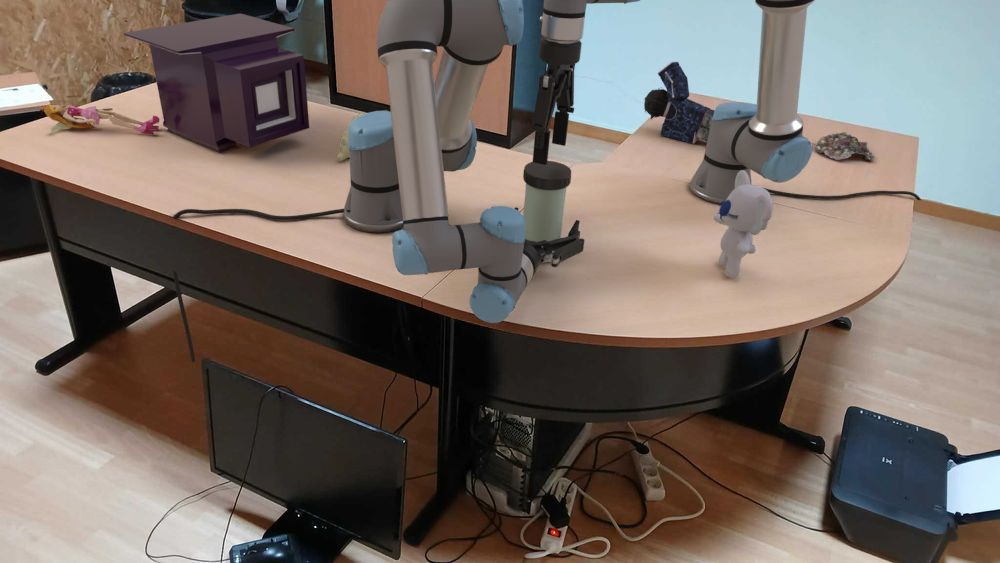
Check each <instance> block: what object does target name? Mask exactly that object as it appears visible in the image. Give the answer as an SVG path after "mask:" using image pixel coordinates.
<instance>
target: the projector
mask: <svg viewBox="0 0 1000 563" xmlns="http://www.w3.org/2000/svg"><path fill="white" fill-rule="evenodd" d="M294 31H295V28H294V27H292V26H287V25H283V24H279V23H276V22H272V21H269V20H264V19H262V18H259V17H256V16H255V17H254V16H252V15H247V14H244V13H235V14H230V15H224V16H217V17H212V18H205V19H200V20H194V21H188V22H181V23H175V24H169V25H163V26H157V27H151V28H146V29H145V28H144V29H139V30H134V31H128V32H123V36H125V37H127V38H130V39H133V40H136V41H138V42H142V43H145V44H148V45H149V50H150V54H151V60H152V66H153V71H154V75H155V76H154V77H155V82H156V87H157V92H158V97H159V102H160V107H161V113H162V118H163V122H162V126H163V127H165V128H166V129H167V131H168V132H170V133H172V134H175V135H177V136H179V137H182V138H184V139H187V140H189V141H191V142H193V143H196V144H197V145H200V146H203V147H205V148H207V149H209V150H212V151H215V152H217V153H219V154H220V153H224V152H227V151H229V150H233V149H235V148H237V144H240V145H242V146H245V147H247V148H249V149H250V148H253V147H256V146H259V145H262V144H266V143H269V142H271V141H275V140H278V139H281V138H285V137H287V136H289V135H293V134H296V133H300V132H302V131H305V130H308V129H310V118H309V105H308V94H307V93H308V92H307V80H306V79H307V78H306V68H305V56H304V54H303V53H302V54H301V53H297V52H296V51H295V52H294V51H291V50H288V49H285V48H282V47H279V44H278V40H277V38H280V37H282V36H286V35H287V34H291V33H292V32H294Z"/></svg>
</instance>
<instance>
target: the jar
mask: <svg viewBox="0 0 1000 563" xmlns="http://www.w3.org/2000/svg"><path fill="white" fill-rule="evenodd" d="M566 194H567V187H566V188H564V189H560V190H542V189H537V188H534V187H531V186H529V185H528V184H526V183H525V192H524V201H523V202H524V203H523V212H522V213H523V214H522V215H523V217H524V220H525V239H527V240H529V241H536V242H539V241H543V240H546V241H547V242H548V241H552V240H556V239H560V238H562V229H563V220H564V213H565V212H564V211H565V203H566V196H567V195H566ZM542 248H543V246H542ZM543 263H549V262H548V261H544V262H542V263H541V264H543Z"/></svg>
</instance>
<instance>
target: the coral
mask: <svg viewBox="0 0 1000 563" xmlns="http://www.w3.org/2000/svg"><path fill="white" fill-rule="evenodd" d="M815 150H816V151H817V152H818V153H824V155H825V156H827V157H828V158H830V159H832V160H835V161H839V160H840V161H841V160H844V159H848V158H851V157H852V155H853V154H854V155H857V154H859V155H860V156H861V158H863V159H865V160H866V161H871V162H874V160H875V159H874V158H875V155H874V154H873V153H872V152H871V151H870V149H869V147H868V142H867V141H859V139H858V137H855V136H853V135H852V134H851V133H849V132H848V131H846V132H844V131H843V132H836V133H830V134H827V135H826V136H822V137H820V138H819V140H818V141H817V142H816V144H815ZM873 157H874V158H873Z"/></svg>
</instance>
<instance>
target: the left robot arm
mask: <svg viewBox="0 0 1000 563" xmlns="http://www.w3.org/2000/svg"><path fill="white" fill-rule="evenodd" d="M524 12H525V11H524V2H523V0H386V3H385V4H384V7H383V10H382V13H381V15H380V19H379V23H378V27H377V32H376V33H377V34H376V50H377V58H378V62H379V64H380V65H381V66H383V67H384V68H385V74H386V81H387V90H388V91H387V92H388V99H389V108H390V111H389V110H375V111H370V112H367V113H365V114H363V115H361V116H359V117H357V118H356V119H354V120H353V121H352V120H351V121H352V122H351V121H350V122H351V124H350V126H349V133H348V147H349V158H348V159H349V177H350V187H349V190H348V194H347V197H346V200H345V204H344V207H343V208H339V209H331V210H326V211H319V212H311V213H305V214H297V215H273V214H270V213H266V212H263V211H258V210H254V209H246V208H219V209H198V208H186V209H185V208H184V209H181V210H179V211H178V212H176V213H175V214H173V216H172V219H175V220H176V219H178V218H179V217H181V216H183V215H186V214H199V215H218V214H247V215H254V216H258V217H261V218H265V219H269V220H275V221H295V220H303V219H304V220H305V219H310V218H318V217H325V216H331V215H338V214H343V219H344V222H345V223H346V224H347V225H348V226H349V227H351V228H353V229H355V230H358V231H360V232H366V233H379V234H380V233H381V234H382V233H389V232H394V233H393V234H392V238H391V239H392V240H391V242H392V256H393V257H392V258H393V261H394V265H395V268H396V270H397V272H398V273H399V274H401V275H403V276H413V275H424V276H425V275H429V274H433V273H434V274H435V273H442V272H443V273H444V272H449V271H457V270H467V269H477V283H476V285H475V286H474V287H473V289H472V292H471V294H470V296H469V307H470V309H471V311H472V313H473V314H474V316H475V317H477V318H478V319H479V320H481V321H483V322H485V323H489V324H498V323H501V322H503V321H504V320H506V319H507V318H508V317H509V315H510V314H511V312H513V311H514V309H515V308H516V305H517V303H518V301H519V300H520V298H521V296H522V294H523V293H524V292H525V290H526V288H527V287H528V285H529V283H530V281H531V280H532V278H533V277H534V276H535V273H537V270H538V268H539V267H540V265H541V264H543V263H542V262H544V261H548V262H547V263H550V266H551V267H552V268H557V267H558V266H559V265H560V264H561V263H562V262H565V261H567V260H568V259H570V258H573V257H574V256H576V255H579V254H580V253H582V252H584V247H585V241H586V239H584V238H583V237H582V238H580V236H581V231H580V230H579V228H580V222H581V221H580V220H578V219H575V221H574V222H573V225H572V226H571V228H570V229H569V232H568V234H567V236H564V237H561V238H560V239H556V240H552V241H548V242H547V241H546V240H543V241H539V242H536V241H529V240H527V239H525V220H524V217H523V214H522V213H521V211H520V210H519V207H516V206H515V207H511V206H508V205H493V206H491V207H490V208H489V207H488V208H485V209H484V210H483V211H482V212H481V215H480V218H479V222H473V223H472V222H471V223H461V224H452V225H451V224H450V219H449V207H448V206H449V205H448V199H447V198H448V197H447V188H446V180H445V179H446V178H445V172H451V173H452V172H453V173H454V172H456V171H461V170H466V169H468V168H469V167H470V166H471V165H472V163H473V162H474V160H475V157H476V153H477V149H476V148H477V145H478V135H477V130H476V129H477V128H476V126H475V123H474V121H473V120H472V119H471V115H472V112H473V109H474V106H475V103H476V101H477V97H478V95H479V92H480V90H481V86H482V84H483V80H484V78H485V75H486V72H487V69H488V66H489V65H490V64H493V63H494V62H495V61H497V60H498V59H499V57H500V56H501V54H502V53H503V50H504V47H505V46H509V47H512V46H514V45H519V43H520V42H521V40H522V38H523V35H524V34H523V33H524V26H525V14H524ZM438 47H441V48H442V53H441V57H440V61H439V64H438V69H437V72H436V77H435V78H434V76H435V75H434V67H433V64H434V63H435V61H437V59H438V56H439V55H438ZM542 246H543V248H542ZM172 274H173V280H174V286H175V290H176V296H177V300H178V305H179V310H180V313H181V314H180V315H181V318H182V322H183V327H184V331H185V335H186V340H187V344H188V351H189V356H190V360H191V363H195V362H196V356H195V351H194V345H193V341H192V335H191V330H190V326H189V321H188V318H187V313H186V309H185V304H184V300H183V296H182V291H181V285H180V280H179V274H178V272H177V271H175V270H172Z"/></svg>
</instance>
